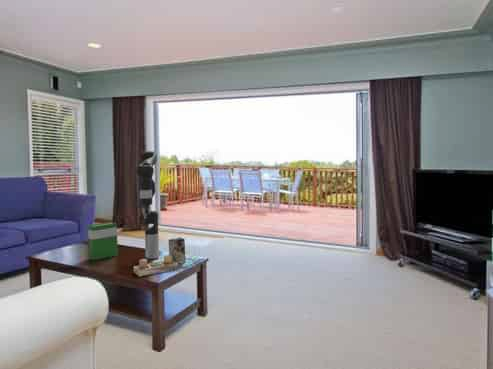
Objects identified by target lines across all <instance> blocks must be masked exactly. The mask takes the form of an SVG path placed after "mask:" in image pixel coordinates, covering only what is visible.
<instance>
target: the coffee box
mask: <svg viewBox="0 0 493 369" xmlns="http://www.w3.org/2000/svg"><path fill="white" fill-rule="evenodd" d="M185 240H186V239H185V238H182V237H177V238H170V239H168V255H171V260H173V261H174V262H176V263H179V264H182V263H181V262H184V263H186V246H185V243H186V242H185Z"/></svg>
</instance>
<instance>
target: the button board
mask: <svg viewBox="0 0 493 369" xmlns="http://www.w3.org/2000/svg"><path fill="white" fill-rule="evenodd" d="M171 262H172V263H171V264H164V260H162V261H160V266H155V267H152V262H150V263H147V268H145V269H140V266H139V265H134V266H132V268H133V270H132V271H133V273H134V274H136V275H137V277H143V276H149V275H154V274H159V273H164V272H169V271H175V270H178V269H179V264H178V263H176V262H174V261H173V260H171Z"/></svg>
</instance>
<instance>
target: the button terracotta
mask: <svg viewBox="0 0 493 369" xmlns="http://www.w3.org/2000/svg"><path fill="white" fill-rule="evenodd" d="M138 262H139V265H138V266H140V269H145V268H147V264H148V259H147V258H142V259H139V260H138Z"/></svg>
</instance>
